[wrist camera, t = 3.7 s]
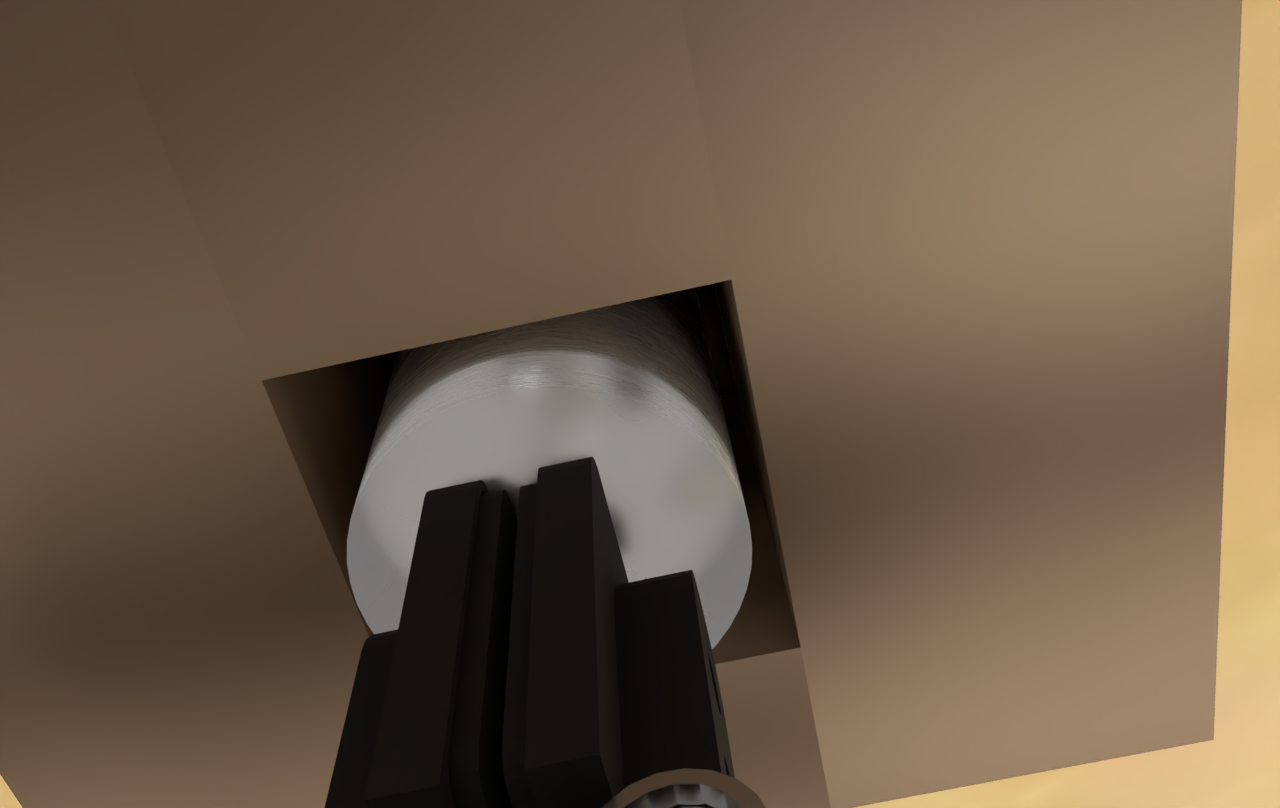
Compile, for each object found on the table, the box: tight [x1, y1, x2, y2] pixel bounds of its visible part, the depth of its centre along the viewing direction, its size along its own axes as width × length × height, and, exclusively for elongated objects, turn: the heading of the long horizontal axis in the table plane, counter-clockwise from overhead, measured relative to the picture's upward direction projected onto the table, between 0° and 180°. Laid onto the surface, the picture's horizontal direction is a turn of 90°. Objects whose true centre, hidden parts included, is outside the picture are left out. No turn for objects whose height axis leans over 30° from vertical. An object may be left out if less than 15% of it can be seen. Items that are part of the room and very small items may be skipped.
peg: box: [347, 288, 752, 649], centre depth 14 cm, size 4×4×6 cm
